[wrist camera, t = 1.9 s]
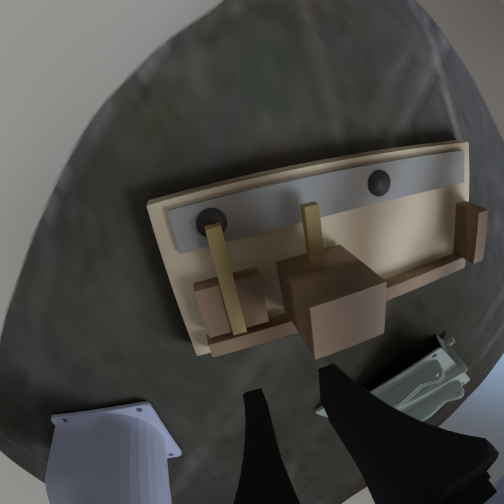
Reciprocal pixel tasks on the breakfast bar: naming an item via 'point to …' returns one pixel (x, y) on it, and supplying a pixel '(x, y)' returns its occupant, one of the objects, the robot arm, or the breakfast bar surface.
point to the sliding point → (330, 293)
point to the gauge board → (333, 232)
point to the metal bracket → (424, 383)
